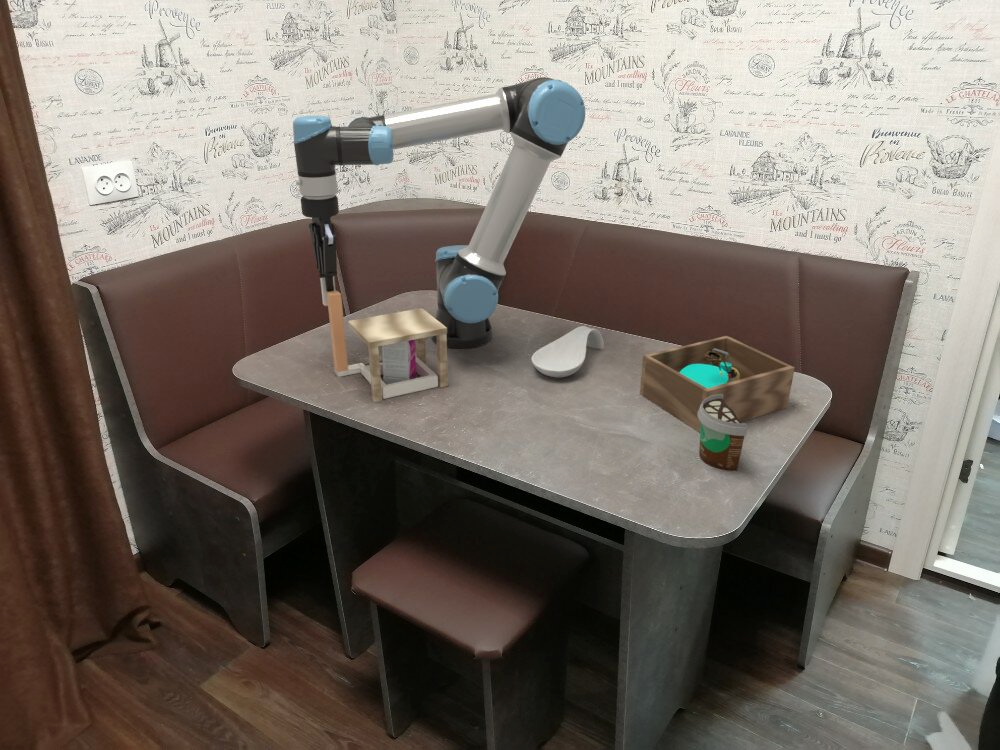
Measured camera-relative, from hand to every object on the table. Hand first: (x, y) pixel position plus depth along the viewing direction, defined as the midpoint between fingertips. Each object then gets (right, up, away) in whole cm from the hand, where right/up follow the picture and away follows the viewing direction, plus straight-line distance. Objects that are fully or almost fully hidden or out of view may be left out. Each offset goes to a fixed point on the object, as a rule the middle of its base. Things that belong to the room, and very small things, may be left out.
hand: (329, 303), depth 163 cm
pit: (+9, -14, +7) cm, 18 cm away
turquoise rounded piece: (+81, -22, -9) cm, 85 cm away
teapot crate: (+82, -21, -8) cm, 85 cm away
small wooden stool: (+16, -17, 0) cm, 23 cm away
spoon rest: (+54, -13, +9) cm, 56 cm away
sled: (+12, -17, +1) cm, 21 cm away
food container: (+75, -31, -28) cm, 86 cm away
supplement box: (+16, -17, 0) cm, 23 cm away
